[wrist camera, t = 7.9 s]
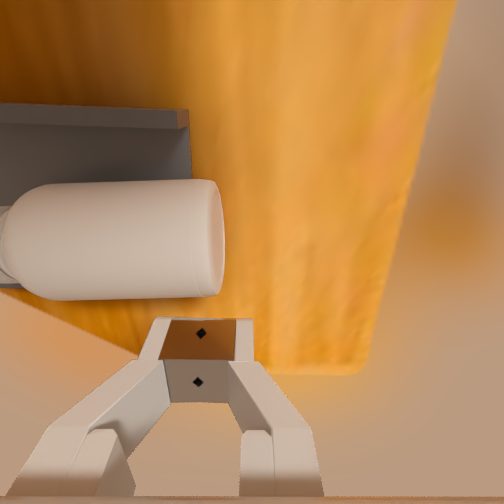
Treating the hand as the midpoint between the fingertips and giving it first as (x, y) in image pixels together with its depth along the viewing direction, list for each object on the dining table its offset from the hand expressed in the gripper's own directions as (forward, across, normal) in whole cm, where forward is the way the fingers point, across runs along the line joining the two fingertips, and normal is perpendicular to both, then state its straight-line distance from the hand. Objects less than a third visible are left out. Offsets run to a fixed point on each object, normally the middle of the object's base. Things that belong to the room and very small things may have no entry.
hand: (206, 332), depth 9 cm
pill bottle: (+10, 0, +2) cm, 11 cm away
